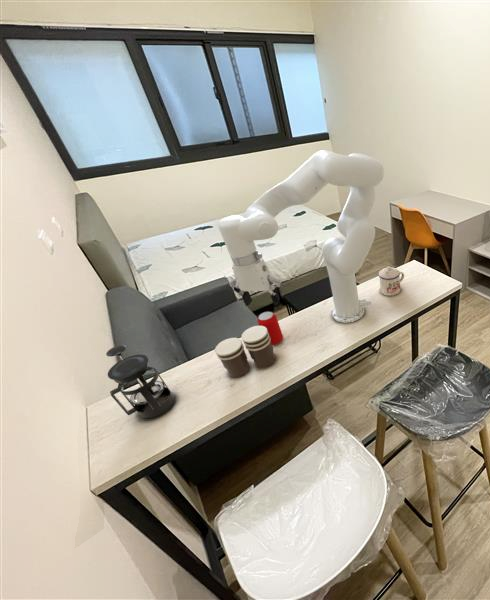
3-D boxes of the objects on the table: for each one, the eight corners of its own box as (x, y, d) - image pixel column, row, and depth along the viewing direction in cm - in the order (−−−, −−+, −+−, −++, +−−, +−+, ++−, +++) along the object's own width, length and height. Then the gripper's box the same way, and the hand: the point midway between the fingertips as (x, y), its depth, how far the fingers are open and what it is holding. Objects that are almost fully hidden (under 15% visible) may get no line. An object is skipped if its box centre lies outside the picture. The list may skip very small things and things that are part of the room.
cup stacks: (275, 350, 113) (265, 322, 106) (279, 364, 107) (268, 336, 100) (226, 366, 107) (212, 338, 100) (227, 382, 102) (212, 353, 95)
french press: (173, 387, 101) (135, 331, 88) (182, 403, 96) (144, 346, 82) (129, 411, 94) (81, 354, 81) (136, 430, 89) (86, 372, 76)
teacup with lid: (387, 298, 136) (385, 275, 129) (376, 290, 142) (373, 266, 135) (410, 288, 141) (409, 265, 135) (398, 280, 148) (396, 258, 141)
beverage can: (283, 345, 115) (274, 319, 108) (265, 348, 114) (254, 322, 107) (284, 334, 120) (275, 308, 113) (267, 337, 119) (257, 311, 112)
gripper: (277, 251, 100) (291, 296, 110) (224, 252, 101) (243, 297, 111) (267, 262, 94) (283, 309, 104) (212, 264, 95) (233, 310, 105)
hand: (263, 303), depth 107 cm, fingers open, 9 cm apart
